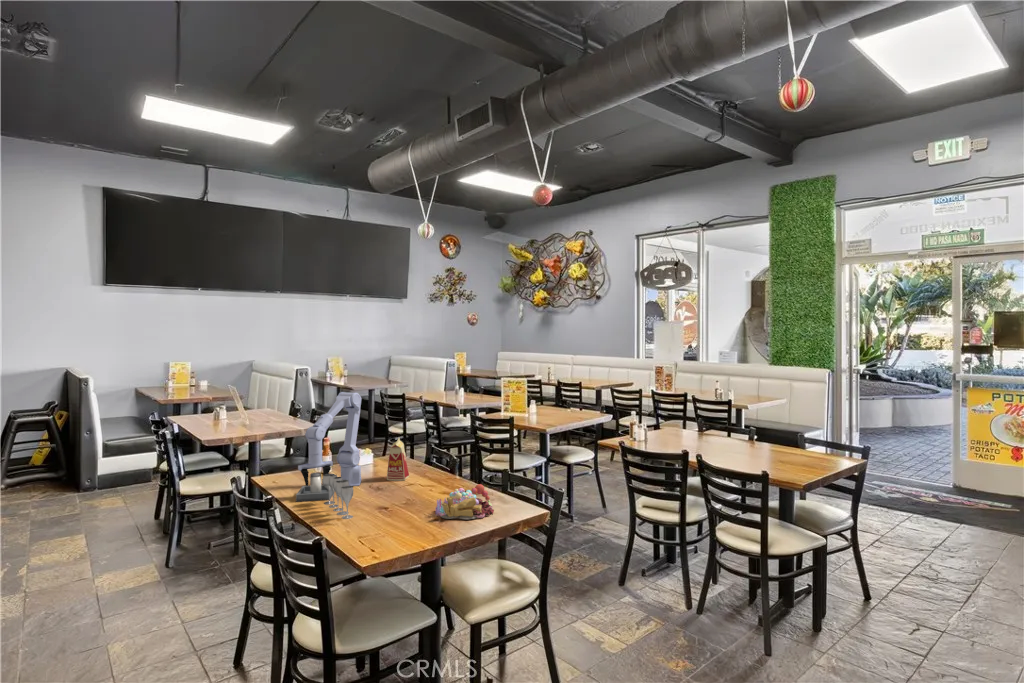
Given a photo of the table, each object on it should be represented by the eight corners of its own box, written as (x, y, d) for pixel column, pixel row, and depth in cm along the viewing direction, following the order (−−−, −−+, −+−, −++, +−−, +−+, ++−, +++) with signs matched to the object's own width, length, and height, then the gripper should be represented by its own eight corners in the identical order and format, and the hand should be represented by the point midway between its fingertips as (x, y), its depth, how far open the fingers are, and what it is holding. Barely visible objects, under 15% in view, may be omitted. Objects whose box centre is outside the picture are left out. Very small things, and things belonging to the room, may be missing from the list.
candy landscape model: (497, 519, 211) (497, 496, 211) (436, 523, 207) (436, 499, 207) (489, 500, 235) (489, 479, 235) (434, 503, 231) (434, 482, 231)
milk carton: (392, 476, 276) (392, 436, 276) (409, 476, 275) (409, 437, 275) (385, 480, 267) (385, 440, 267) (403, 481, 266) (403, 440, 266)
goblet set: (356, 517, 214) (356, 483, 214) (342, 520, 211) (341, 486, 210) (334, 500, 237) (333, 469, 236) (320, 502, 233) (320, 471, 233)
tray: (334, 490, 250) (334, 484, 250) (329, 499, 237) (329, 493, 237) (302, 492, 248) (302, 485, 248) (296, 501, 234) (295, 494, 234)
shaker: (319, 491, 246) (319, 471, 246) (322, 494, 242) (322, 473, 242) (309, 493, 243) (308, 473, 243) (312, 496, 239) (312, 475, 239)
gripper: (329, 450, 250) (329, 479, 250) (296, 454, 241) (296, 484, 242) (333, 452, 244) (334, 482, 244) (300, 457, 236) (300, 488, 236)
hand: (315, 484), depth 242 cm, fingers open, 7 cm apart
